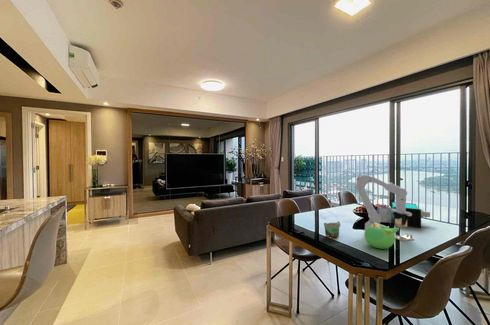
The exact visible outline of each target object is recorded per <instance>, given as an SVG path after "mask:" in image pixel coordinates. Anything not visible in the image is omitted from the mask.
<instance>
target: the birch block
mask: <svg viewBox="0 0 490 325" xmlns="http://www.w3.org/2000/svg"><path fill="white" fill-rule="evenodd" d="M394 226H395V227H396V228H399V229H400V228H408V226H407V221H406V224H405V225H402V219H395V225H394Z"/></svg>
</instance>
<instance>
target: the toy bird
mask: <svg viewBox="0 0 490 325" xmlns="http://www.w3.org/2000/svg"><path fill="white" fill-rule="evenodd" d="M399 230H400V227H393V228H390V227H388V226H386V225H384V224H381V223H380V224H378V223H376V222H374V224H373V225H370V226H368V227H367V229H366V230H365V229H364V239H365V241H366V242H367V244H369V245H370V247H371V246H372V247H373V248H376V249H381V250H385V249H389V248H391V247H392V246H393V245H394V243H395V240H396V238H395V236H396V233H397V232H398V231H399Z"/></svg>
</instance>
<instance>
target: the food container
mask: <svg viewBox="0 0 490 325" xmlns="http://www.w3.org/2000/svg"><path fill="white" fill-rule="evenodd" d="M323 226H324V234H325V237H326V236H327V237H326V238H328V237H331V238H330V239H338V238H339V234H340V227H341V222H340V221H337V222H329V223H328V222H327V223H326V222H324V223H323ZM337 237H338V238H337Z"/></svg>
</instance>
